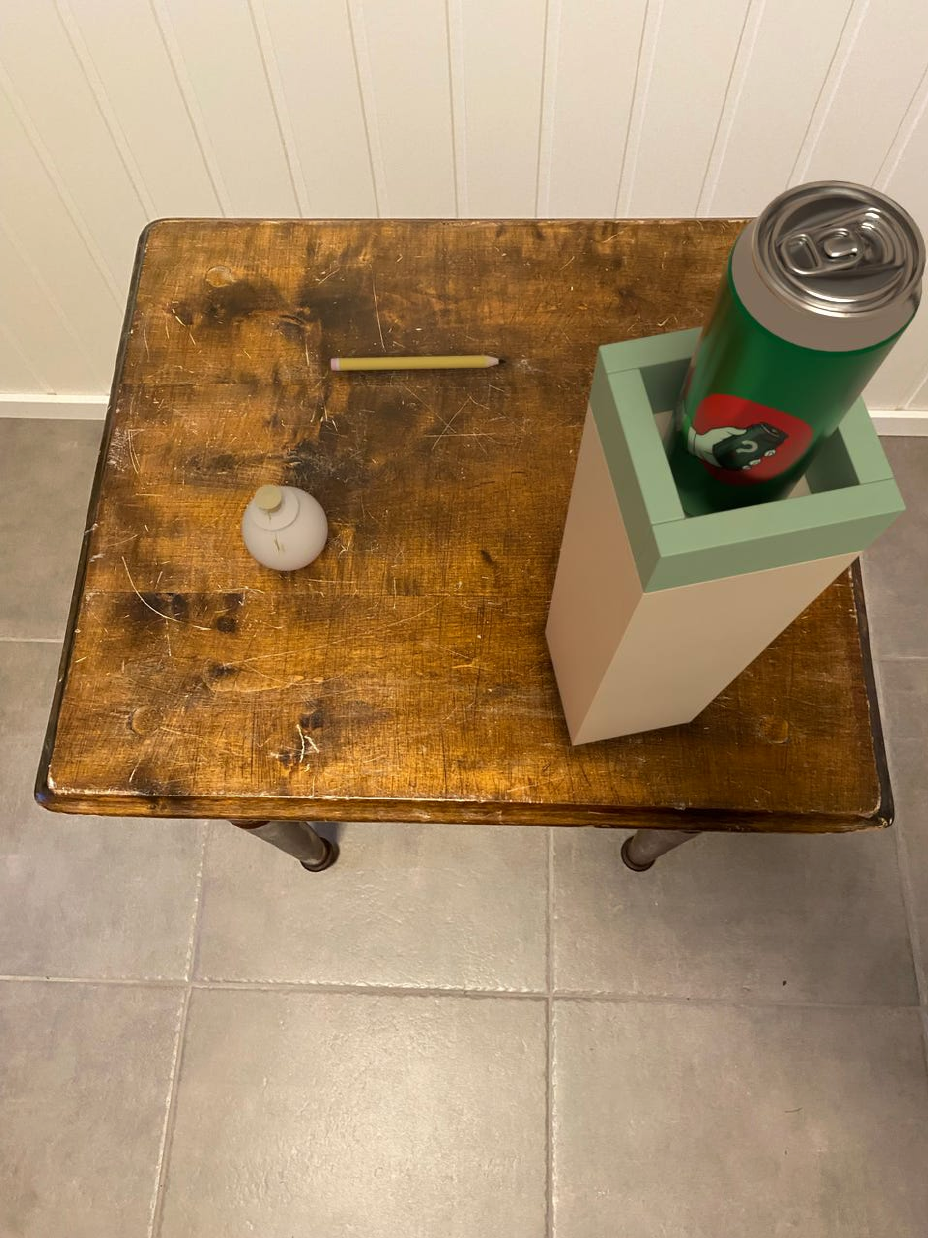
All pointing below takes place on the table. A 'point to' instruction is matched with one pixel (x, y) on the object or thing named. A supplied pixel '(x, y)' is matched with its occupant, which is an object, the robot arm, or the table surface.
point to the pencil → (413, 363)
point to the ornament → (284, 527)
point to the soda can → (791, 341)
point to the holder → (688, 553)
